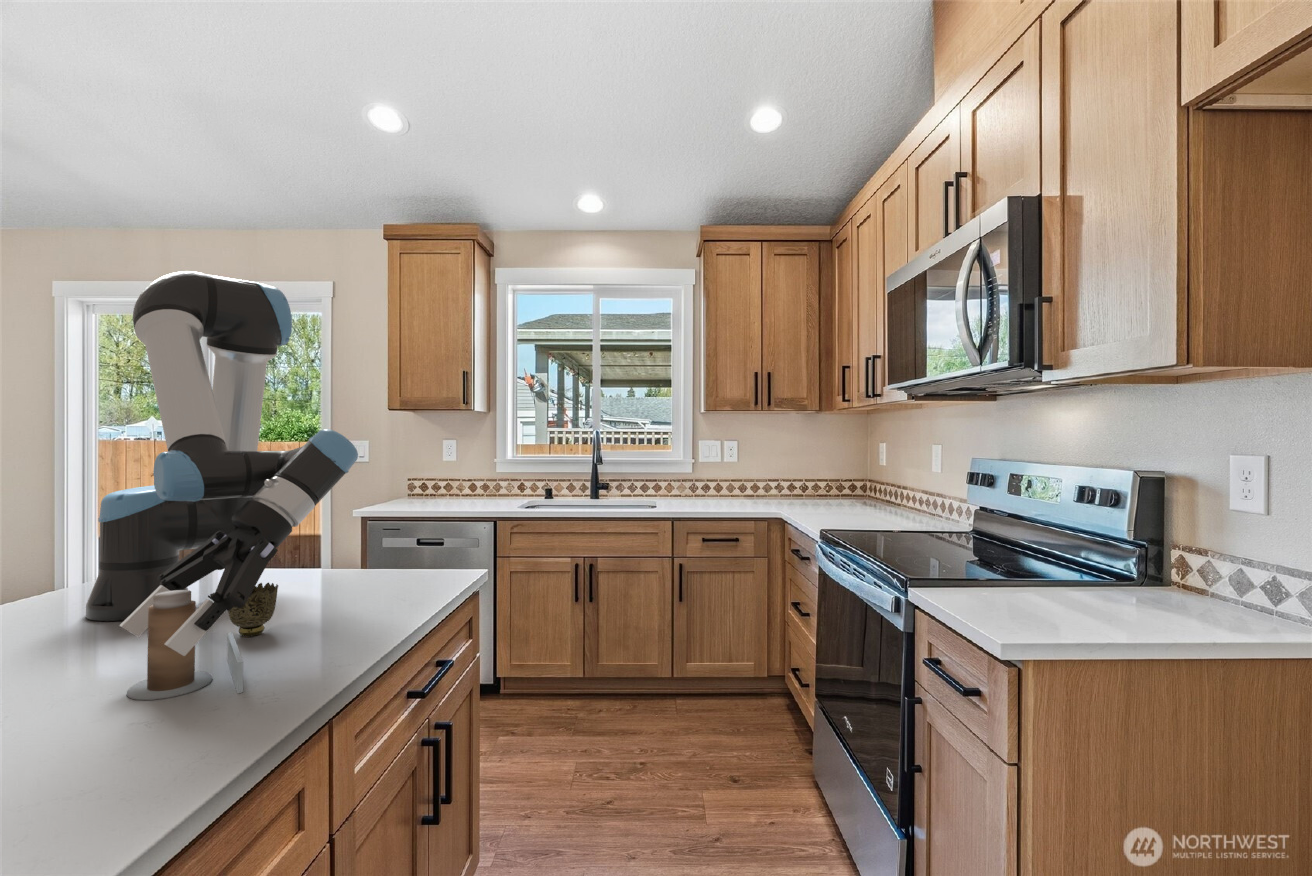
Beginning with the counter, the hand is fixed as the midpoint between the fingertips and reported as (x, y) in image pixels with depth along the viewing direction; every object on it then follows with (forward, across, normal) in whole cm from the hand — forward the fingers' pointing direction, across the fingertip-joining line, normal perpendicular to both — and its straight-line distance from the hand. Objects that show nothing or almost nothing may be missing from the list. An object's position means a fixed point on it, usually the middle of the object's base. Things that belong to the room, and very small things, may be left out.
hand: (150, 640), depth 81 cm
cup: (-9, -14, +18) cm, 25 cm away
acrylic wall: (-2, +3, +11) cm, 11 cm away
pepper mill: (+3, 0, +6) cm, 7 cm away
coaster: (+3, 0, +6) cm, 7 cm away
